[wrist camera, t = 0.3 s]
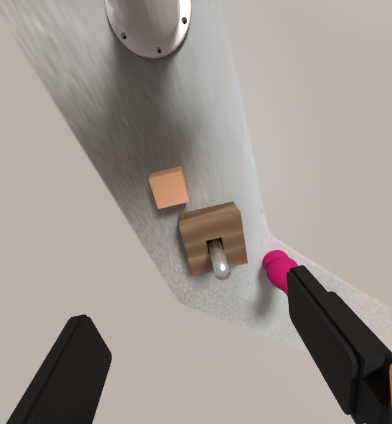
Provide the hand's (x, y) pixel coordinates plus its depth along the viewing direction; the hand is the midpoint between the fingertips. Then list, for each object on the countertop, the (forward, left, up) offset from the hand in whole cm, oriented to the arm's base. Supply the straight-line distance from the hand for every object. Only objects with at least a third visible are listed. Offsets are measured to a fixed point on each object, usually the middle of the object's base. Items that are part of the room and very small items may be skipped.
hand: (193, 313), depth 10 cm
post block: (+15, +3, -34) cm, 37 cm away
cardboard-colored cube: (+2, -3, -34) cm, 34 cm away
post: (+15, +3, -29) cm, 32 cm away
